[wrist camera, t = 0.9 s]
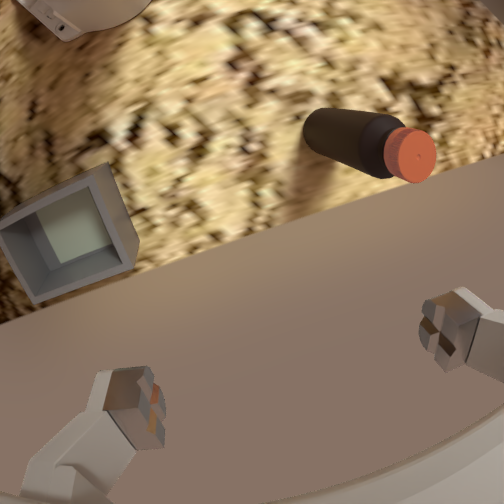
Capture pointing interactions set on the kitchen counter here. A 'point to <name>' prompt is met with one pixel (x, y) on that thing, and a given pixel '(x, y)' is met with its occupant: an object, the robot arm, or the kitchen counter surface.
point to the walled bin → (69, 235)
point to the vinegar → (371, 143)
